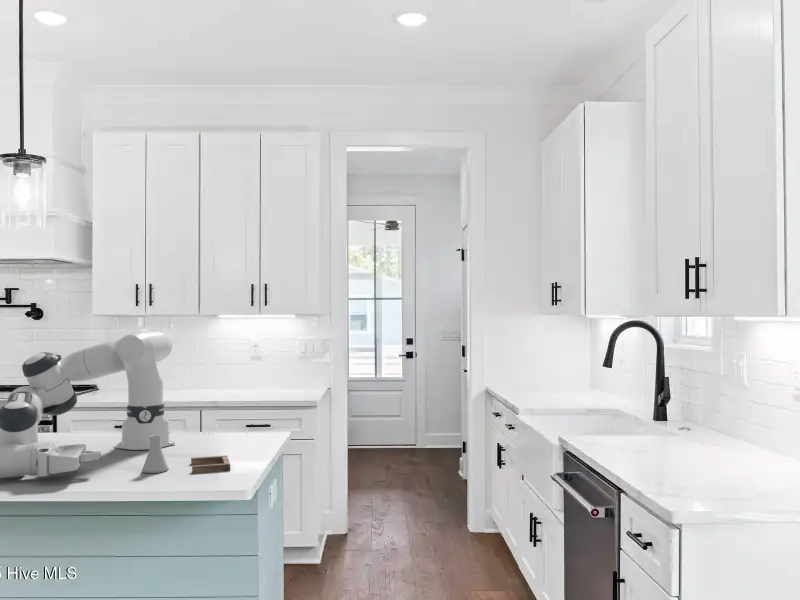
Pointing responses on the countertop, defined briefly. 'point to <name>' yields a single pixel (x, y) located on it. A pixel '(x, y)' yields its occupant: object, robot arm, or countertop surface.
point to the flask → (155, 457)
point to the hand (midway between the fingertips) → (100, 455)
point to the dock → (211, 467)
